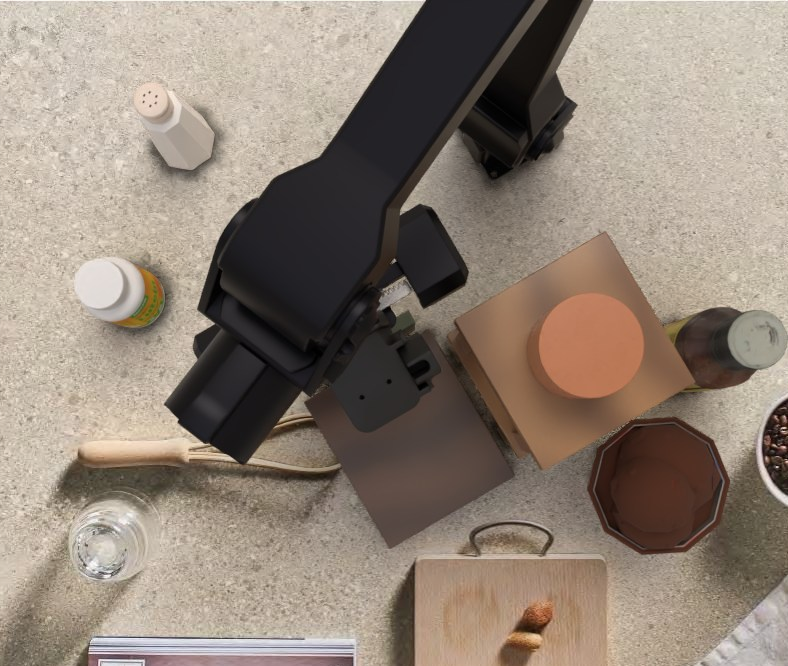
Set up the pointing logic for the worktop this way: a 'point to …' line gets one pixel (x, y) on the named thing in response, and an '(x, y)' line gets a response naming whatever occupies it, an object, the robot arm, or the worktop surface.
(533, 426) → the square box with cylinder
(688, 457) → the brown polygonal jar
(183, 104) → the salt shaker
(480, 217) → the worktop surface
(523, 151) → the robot arm
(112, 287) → the supplement bottle
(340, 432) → the cabinet
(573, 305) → the tin
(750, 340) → the sauce bottle
